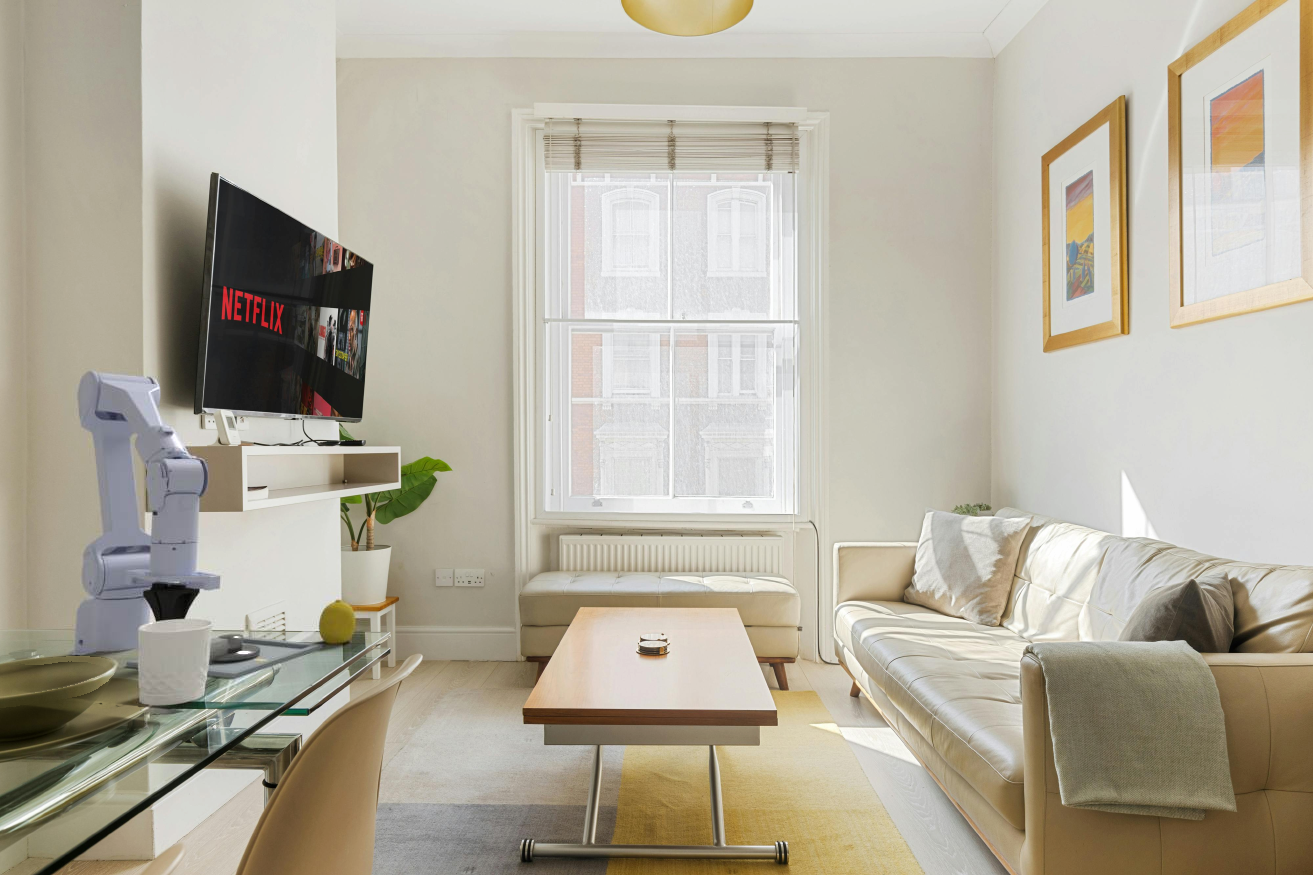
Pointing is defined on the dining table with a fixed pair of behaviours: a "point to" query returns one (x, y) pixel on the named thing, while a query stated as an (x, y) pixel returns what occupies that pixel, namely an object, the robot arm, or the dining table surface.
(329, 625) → the lemon
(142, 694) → the white cup
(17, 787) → the dining table surface
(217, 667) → the dial plate
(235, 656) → the dial
